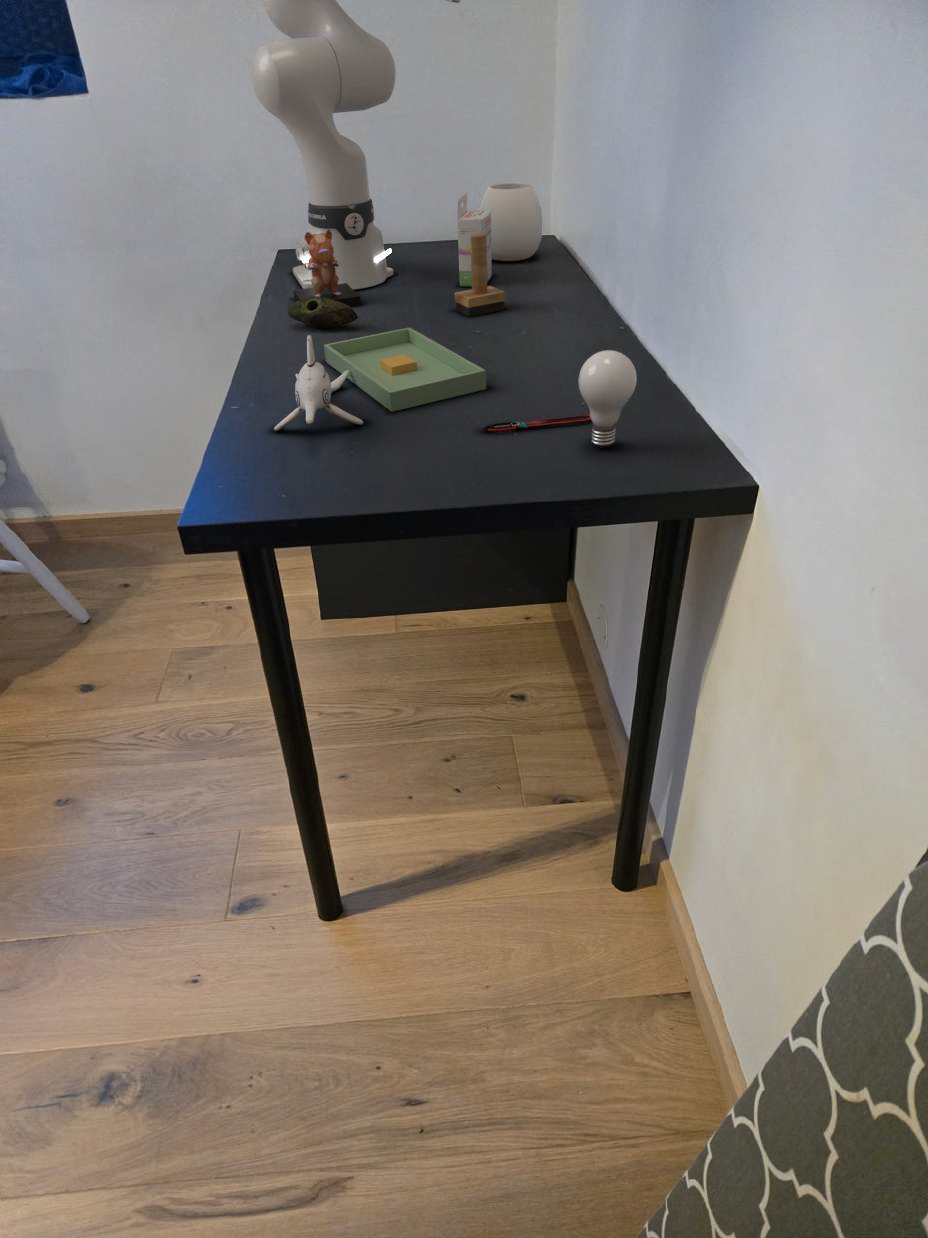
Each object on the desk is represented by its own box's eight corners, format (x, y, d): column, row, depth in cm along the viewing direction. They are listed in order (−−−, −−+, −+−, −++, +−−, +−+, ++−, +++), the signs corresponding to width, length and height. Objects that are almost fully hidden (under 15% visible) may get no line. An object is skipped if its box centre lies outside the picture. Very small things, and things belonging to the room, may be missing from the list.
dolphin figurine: (263, 446, 93) (247, 346, 88) (287, 411, 116) (275, 330, 111) (361, 439, 93) (350, 339, 89) (366, 405, 116) (357, 325, 112)
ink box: (485, 287, 152) (483, 199, 144) (458, 287, 153) (455, 199, 145) (493, 275, 159) (491, 191, 151) (468, 275, 160) (465, 191, 151)
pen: (595, 422, 100) (596, 417, 100) (483, 434, 98) (483, 429, 98) (590, 416, 102) (591, 410, 101) (480, 428, 100) (480, 423, 100)
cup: (543, 264, 165) (545, 189, 157) (478, 266, 165) (476, 192, 157) (539, 249, 176) (541, 178, 168) (478, 251, 176) (476, 181, 168)
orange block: (380, 367, 118) (379, 359, 117) (405, 362, 119) (404, 353, 118) (392, 375, 115) (391, 367, 114) (417, 369, 116) (417, 361, 115)
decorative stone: (292, 337, 132) (287, 305, 129) (289, 324, 138) (284, 293, 135) (359, 330, 134) (356, 298, 131) (354, 317, 140) (350, 287, 137)
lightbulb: (570, 436, 97) (574, 344, 91) (623, 433, 98) (630, 340, 91) (581, 460, 92) (586, 363, 86) (636, 456, 92) (645, 359, 86)
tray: (325, 361, 122) (323, 344, 121) (411, 344, 127) (409, 327, 126) (391, 412, 106) (389, 392, 104) (486, 388, 111) (486, 370, 109)
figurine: (304, 312, 143) (293, 238, 136) (294, 298, 151) (283, 227, 144) (360, 304, 146) (352, 232, 139) (347, 291, 154) (339, 221, 147)
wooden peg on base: (455, 310, 141) (452, 235, 134) (491, 303, 144) (489, 229, 137) (468, 317, 138) (466, 240, 131) (505, 309, 140) (504, 234, 133)
